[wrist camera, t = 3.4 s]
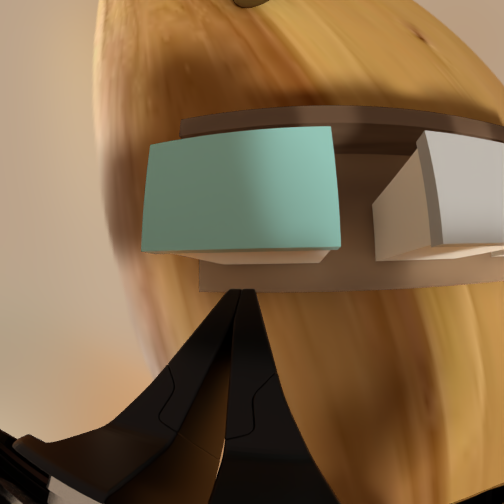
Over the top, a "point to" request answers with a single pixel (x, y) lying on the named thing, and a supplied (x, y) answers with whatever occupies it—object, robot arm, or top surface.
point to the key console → (352, 200)
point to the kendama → (249, 3)
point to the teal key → (244, 197)
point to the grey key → (443, 201)
